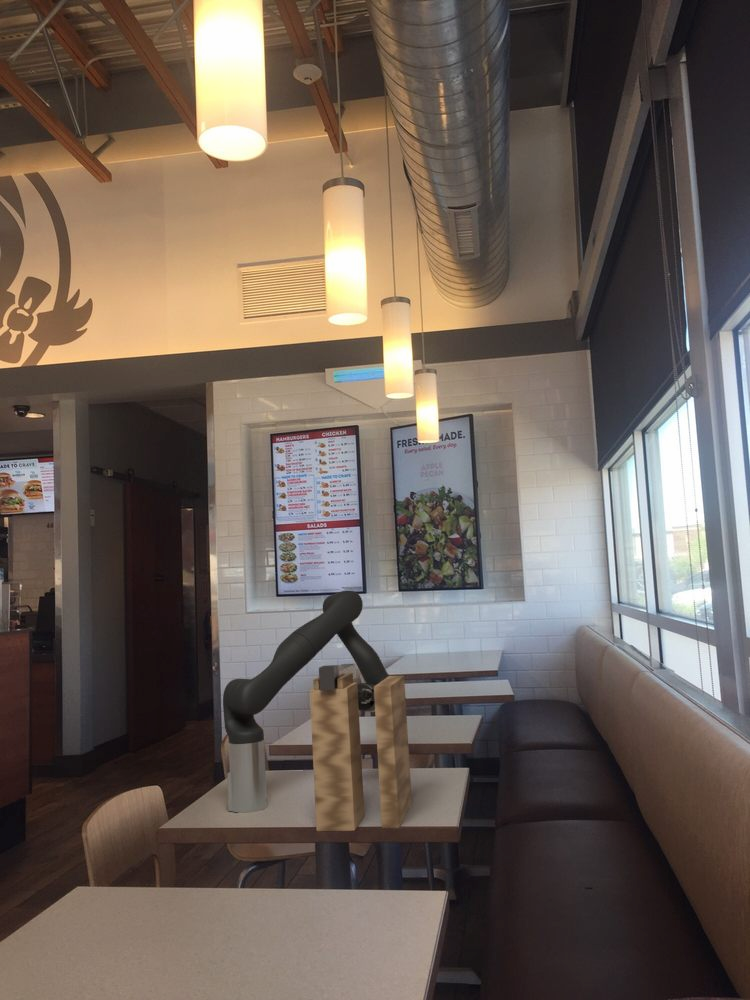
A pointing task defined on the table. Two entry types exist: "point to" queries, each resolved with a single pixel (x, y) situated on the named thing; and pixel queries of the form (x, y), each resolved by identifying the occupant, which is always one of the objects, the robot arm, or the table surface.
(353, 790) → the stand
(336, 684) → the grey metal bar
